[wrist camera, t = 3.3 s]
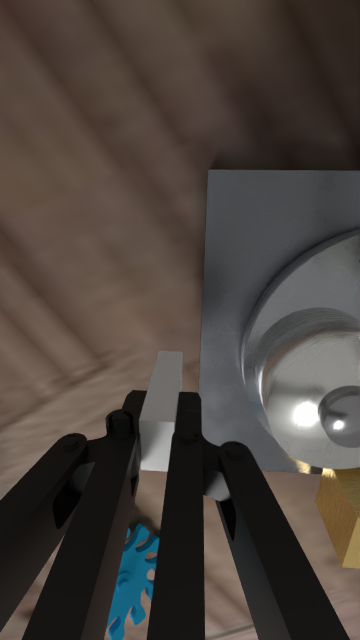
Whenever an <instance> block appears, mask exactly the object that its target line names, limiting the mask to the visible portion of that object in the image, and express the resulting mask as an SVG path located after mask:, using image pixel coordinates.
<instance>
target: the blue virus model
mask: <svg viewBox="0 0 360 640" xmlns="http://www.w3.org/2000/svg"><path fill="white" fill-rule="evenodd" d="M129 535H130V529H129V528H128V532H127V537H126V539H127V538H128V537H129ZM148 536H149V531H148V530H147V529H146V527H145V526H144V525H142V524H141V523H139V524H138V525H137V526H136V528H135V532H134V534H133V536H132V538H131V539H130V540H129V541H128V543H127V544H125V546H124V550H123V555H122V559H121V564H120V568H119V573H118V577H117V582H116V586H115V591H114V595H113V600H112V604H111V609H110V613H109V618H108V623H107V627H108V626H109V625H110V623H111V622H112V621H113V620H114V619H115V618H116V617H117V619H116V620H115V622H114V623H113V624H112V625H111V626H110V628H109V632H108V634H109V637H110V639H111V640H122V639H123V637H124V632H125V631H124V623H125V619H126V616H127V614H128V611H129V609H130V608H131V607H132V606H133V608H132V610H131V613H130V617H131V619H132V621H133V623H134V624H135V625H137V624H139V623H140V622H141V621H142V620H143V619H144V618H145V616H146V614H145V611H144V609H143V608H142V606H141V603H140V598H141V592H142V591H143V589H144V588H146V593H147V595H148V596H149V598H150V599H151V600H152V593H153V585H154V580H148V579H147V572H148V571H149V569H151V568H153V569H154V570H155V569H156V561H157V556H156V557H154V558H152V559H145V556H146V554H147V553H148V552H150V551H152V552H158V545H159V538H158V536H157V535H155V534H154V535H152V536H151V537H150V538H149V540H148V541H147V542H146V543H145V544H144V545H142V546H140V547H137V548H136V545H137V544H138V543H139V542H140V541H143V540H145V539H146V538H147V537H148ZM107 627H106V629H107Z"/></svg>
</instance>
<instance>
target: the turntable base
mask: <svg viewBox="0 0 360 640" xmlns="http://www.w3.org/2000/svg"><path fill="white" fill-rule="evenodd" d="M358 229H360V171H335V170H208V176H207V200H206V224H205V248H204V272H203V296H202V320H201V344H200V368H199V392H198V394H199V396H200V397H201V406H202V434H203V436H204V438H205V439H206V440H207V441H209V442H210V443H212V444H214V445H217V446H221V445H222V444H223V443H225V442H228V441H237V442H240V443H243V444H244V445H246V446H247V447H248V448H249V449H250V451H251V453H252V454H253V456H254V458H255V460H256V462H257V464H258V466H259V468H260V470H261V471H277V472H294V473H311V474H322V472H323V468H320V467H315V466H311V465H308V464H305V463H303V462H301V461H299V460H297V459H295V458H294V457H292V456H291V455H289V454H288V453H287V452H286V451H284V450H283V448H282V447H281V446H280V445H279V444H278V442H277V441H276V440H275V439H274V438H273V437H272V436H271V435H270V434H269V433H268V432H267V431H266V429H265V428H264V427H263V426H262V424H261V423H260V421H259V420H258V418H257V417H256V415H255V413H254V411H253V409H252V407H251V404H250V402H249V398H248V395H247V391H246V387H245V384H244V380H243V376H242V368H241V348H242V342H243V336H244V332H245V329H246V326H247V323H248V320H249V318H250V316H251V314H252V311H253V309H254V307H255V305H256V304H257V302H258V300H259V299H260V297H261V296H262V294H263V293H264V291H265V290H266V289H267V287H268V286H269V285H270V284H271V283H272V281H273V280H274V279H275V278H276V277H277V276H278V275H279V274H280V273H281V272H282V271H283V270H284V269H285V268H286V267H287V266H288V265H289V264H291V263H292V262H293V261H295V260H296V259H297V258H299V257H300V256H301V255H303V254H304V253H305V252H307V251H309V250H311V249H312V248H314V247H316V246H317V245H319V244H321V243H323V242H325V241H327V240H330V239H332V238H334V237H336V236H339V235H341V234H344V233H348V232H351V231H354V230H358Z"/></svg>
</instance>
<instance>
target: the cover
mask: <svg viewBox="0 0 360 640" xmlns="http://www.w3.org/2000/svg"><path fill="white" fill-rule="evenodd" d="M252 373H253V377H254V381H255V384H256V387H257V390H258V393H259V396H260V399H261V402H262V405H263V408H264V411H265V414H266V417H267V420H268V423H269V426H270V429H271V431H272V434H273V436H274V438H275V439H276V441H277V442H278V444H279V445H280V446H281V447H282V448H283V450H284V451H286V452H287V453H288V454H289V455H291V456H292V457H294V458H295V459H297V460H299V461H301V462H303V463H305V464H308V465H311V466H315V467H320V468H326V469H350V468H356V467H360V321H359V320H358V319H356V318H355V317H353V316H352V315H350V314H348V313H346V312H343V311H340V310H337V309H332V308H323V307H320V308H309V309H304V310H300V311H296V312H294V313H291V314H289V315H287V316H285V317H283V318H282V319H280V320H279V321H277V322H276V323H274V324H273V325H272V326H271V327H270V328H269V329H268V330H267V331H266V332H265V333H264V335H263V336H262V337H261V339H260V340H259V342H258V344H257V346H256V348H255V351H254V354H253V360H252Z"/></svg>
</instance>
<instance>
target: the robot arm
mask: <svg viewBox="0 0 360 640" xmlns="http://www.w3.org/2000/svg"><path fill="white" fill-rule="evenodd" d="M182 362H183V352H175V351H159V353H158V356H157V360H156V363H155V366H154V370H153V373H152V377H151V380H150V384H149V387H148V391H140V390H132V391H131V392H130V393H129V394H128V395H127V396H126V399H125V402H124V404H123V407H122V409H118V410H115V411H113V412H111V413H109V414H108V415H107V417H106V418H105V419H106V430H107V434H106V436H104V437H102V438H98V439H94V440H88V441H87V438H86V437H85V436H84V435H82V434H79V433H73V434H68V435H66V436H63V437H62V438H60V439H59V440H58V441H57V442H56V443H55V444H54V445H53V446H52V447H51V448H50V449H49V450H48V451H47V452H46V453H45V454H44V455H43V456H42V457H41V459H40V460H39V461H38V462H37V463H36V464H35V465H34V466H33V467H32V468H31V469H30V470H29V471H28V472H27V473H26V474H25V475H24V476H23V477H22V478H21V479H20V480H19V481H18V483H17V484H16V485H15V486H14V487H13V488H12V489H11V490H10V491H9V492H8V493H7V494H6V495H5V496H4V497H3V498H2V499H1V500H0V632H1V631H2V629H3V628H4V626H5V625H6V623H7V621H8V620H9V618H10V617H11V615H12V614H13V612H14V611H15V609H16V608H17V606H18V605H19V603H20V602H21V600H22V599H23V597H24V596H25V594H26V593H27V591H28V589H29V588H30V586H31V585H32V583H33V582H34V580H35V579H36V577H37V576H38V574H39V573H40V571H41V570H42V568H43V567H44V565H45V564H46V562H47V561H48V559H49V557H50V556H51V554H52V553H53V551H54V550H55V548H56V547H57V545H58V544H59V542H60V541H61V539H62V538H63V536H64V535H65V536H64V538H63V541H62V543H61V546H60V548H59V551H58V553H57V555H56V558H55V560H54V563H53V565H52V567H51V570H50V572H49V575H48V577H47V580H46V582H45V584H44V587H43V589H42V592H41V594H40V596H39V599H38V601H37V604H36V606H35V609H34V611H33V613H32V616H31V618H30V621H29V623H28V625H27V628H26V630H25V633H24V635H23V638H22V640H104V636H105V632H106V627H107V623H108V618H109V613H110V609H111V604H112V600H113V595H114V591H115V586H116V582H117V577H118V573H119V568H120V564H121V559H122V555H123V550H124V546H125V541H126V537H127V532H128V528H129V523H130V519H131V514H132V509H133V505H134V500H135V496H136V491H137V487H138V482H139V468H140V463H141V470H153V471H168V473H167V481H166V489H165V497H164V505H163V513H162V521H161V529H160V537H159V545H158V553H157V561H156V569H155V577H154V585H153V593H152V601H151V609H150V617H149V625H148V633H147V640H205V599H204V516H203V495H205V496H208V497H211V498H213V499H216V505H217V508H218V511H219V514H220V517H221V521H222V524H223V527H224V530H225V533H226V537H227V540H228V543H229V546H230V549H231V553H232V556H233V559H234V562H235V565H236V569H237V572H238V575H239V578H240V581H241V585H242V588H243V591H244V594H245V597H246V601H247V604H248V607H249V610H250V613H251V617H252V620H253V623H254V626H255V629H256V633H257V636H258V639H259V640H350V639H349V637H348V635H347V633H346V631H345V629H344V627H343V626H342V624H341V622H340V620H339V618H338V616H337V614H336V612H335V610H334V608H333V607H332V605H331V603H330V601H329V599H328V597H327V595H326V593H325V591H324V589H323V588H322V586H321V584H320V582H319V580H318V578H317V576H316V574H315V572H314V570H313V569H312V567H311V565H310V563H309V561H308V559H307V557H306V555H305V553H304V551H303V549H302V548H301V546H300V544H299V542H298V540H297V538H296V536H295V534H294V532H293V530H292V529H291V527H290V525H289V523H288V521H287V519H286V517H285V515H284V513H283V511H282V510H281V508H280V506H279V504H278V502H277V500H276V498H275V496H274V494H273V492H272V491H271V489H270V487H269V485H268V483H267V481H266V479H265V477H264V475H263V473H262V472H261V470H260V468H259V466H258V464H257V462H256V460H255V458H254V456H253V454H252V453H251V451H250V449H249V448H248V447H247V446H246V445H244V444H243V443H240V442H237V441H228V442H225V443H223V444H222V445H221V446H217V445H214V444H212V443H210V442H209V441H207V440H206V439H205V438H204V436H203V434H202V406H201V397H200V396H199V394H198V393H197V392H182ZM65 533H66V534H65Z"/></svg>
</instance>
